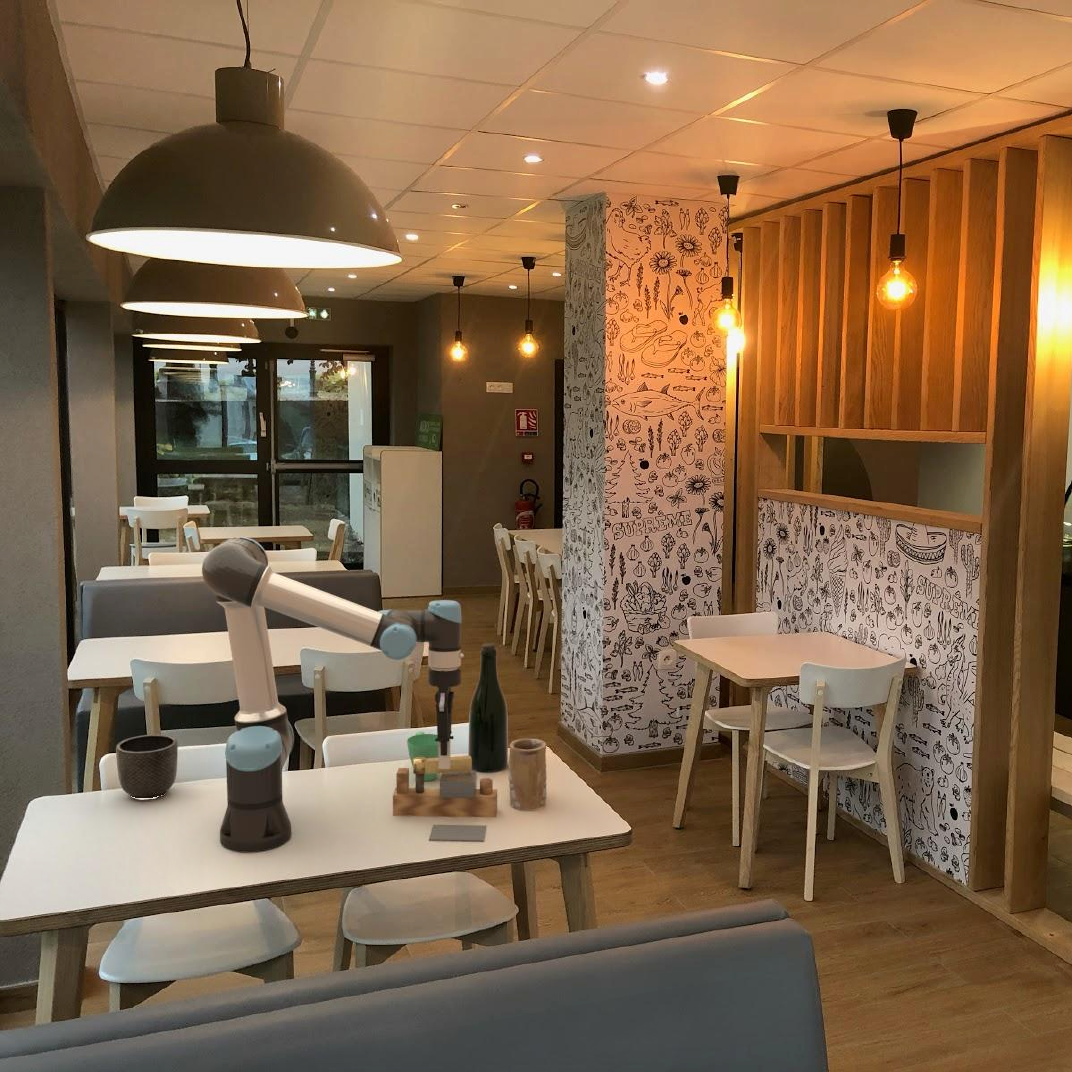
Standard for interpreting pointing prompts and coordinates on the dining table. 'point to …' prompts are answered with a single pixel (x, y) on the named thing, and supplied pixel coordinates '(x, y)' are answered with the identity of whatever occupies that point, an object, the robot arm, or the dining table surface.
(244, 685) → the robot arm
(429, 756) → the mug
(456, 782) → the grey stone cube
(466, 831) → the mat
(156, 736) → the planter
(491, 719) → the green wine bottle
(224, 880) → the dining table surface
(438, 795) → the body
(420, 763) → the lever
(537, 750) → the mug
